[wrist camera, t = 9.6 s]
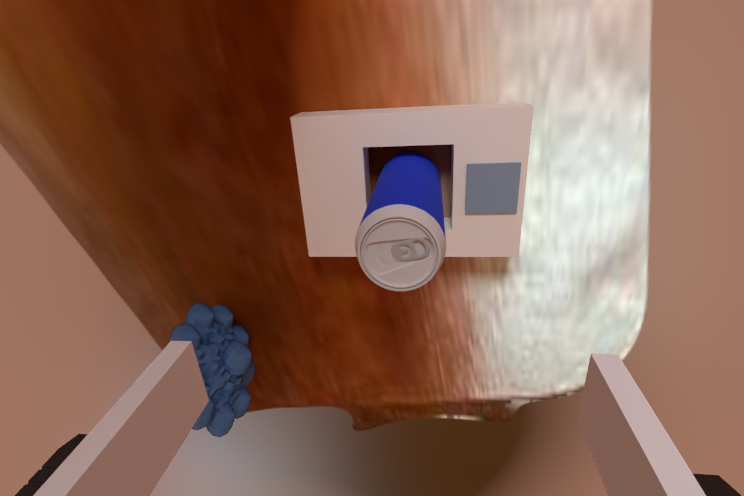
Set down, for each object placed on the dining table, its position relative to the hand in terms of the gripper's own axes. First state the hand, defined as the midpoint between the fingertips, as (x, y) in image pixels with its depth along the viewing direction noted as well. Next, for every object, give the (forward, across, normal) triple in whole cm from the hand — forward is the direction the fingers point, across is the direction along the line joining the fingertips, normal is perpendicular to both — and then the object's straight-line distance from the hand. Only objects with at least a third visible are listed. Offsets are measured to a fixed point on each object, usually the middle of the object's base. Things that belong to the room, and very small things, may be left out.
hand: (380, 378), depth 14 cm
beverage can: (+25, 0, 0) cm, 25 cm away
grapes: (+25, -18, -16) cm, 35 cm away
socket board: (+24, 0, 0) cm, 25 cm away
